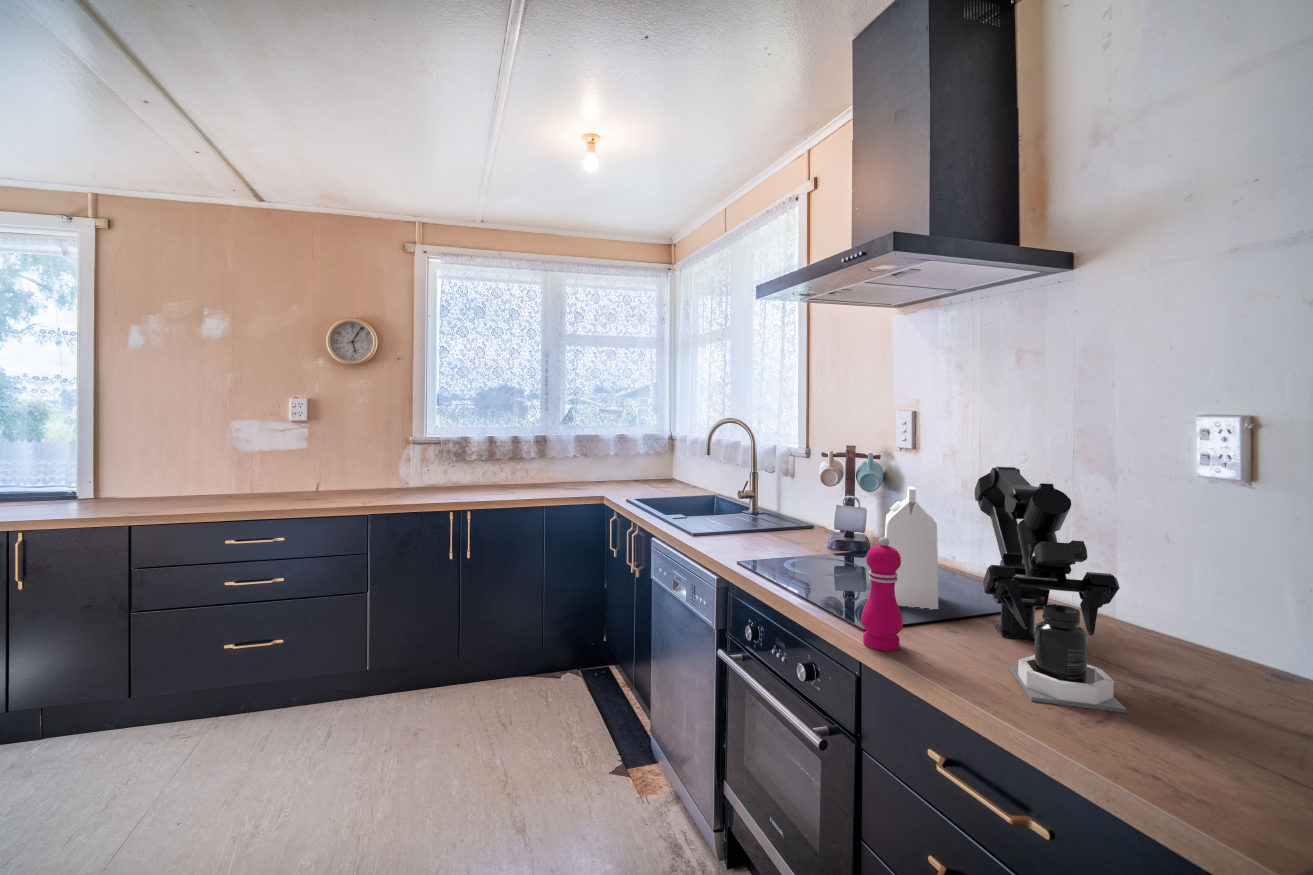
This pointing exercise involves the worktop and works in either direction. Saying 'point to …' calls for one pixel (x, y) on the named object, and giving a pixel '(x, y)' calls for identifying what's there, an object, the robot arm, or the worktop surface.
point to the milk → (914, 552)
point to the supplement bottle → (1061, 645)
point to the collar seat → (1067, 688)
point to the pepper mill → (882, 599)
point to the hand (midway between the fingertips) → (1058, 631)
